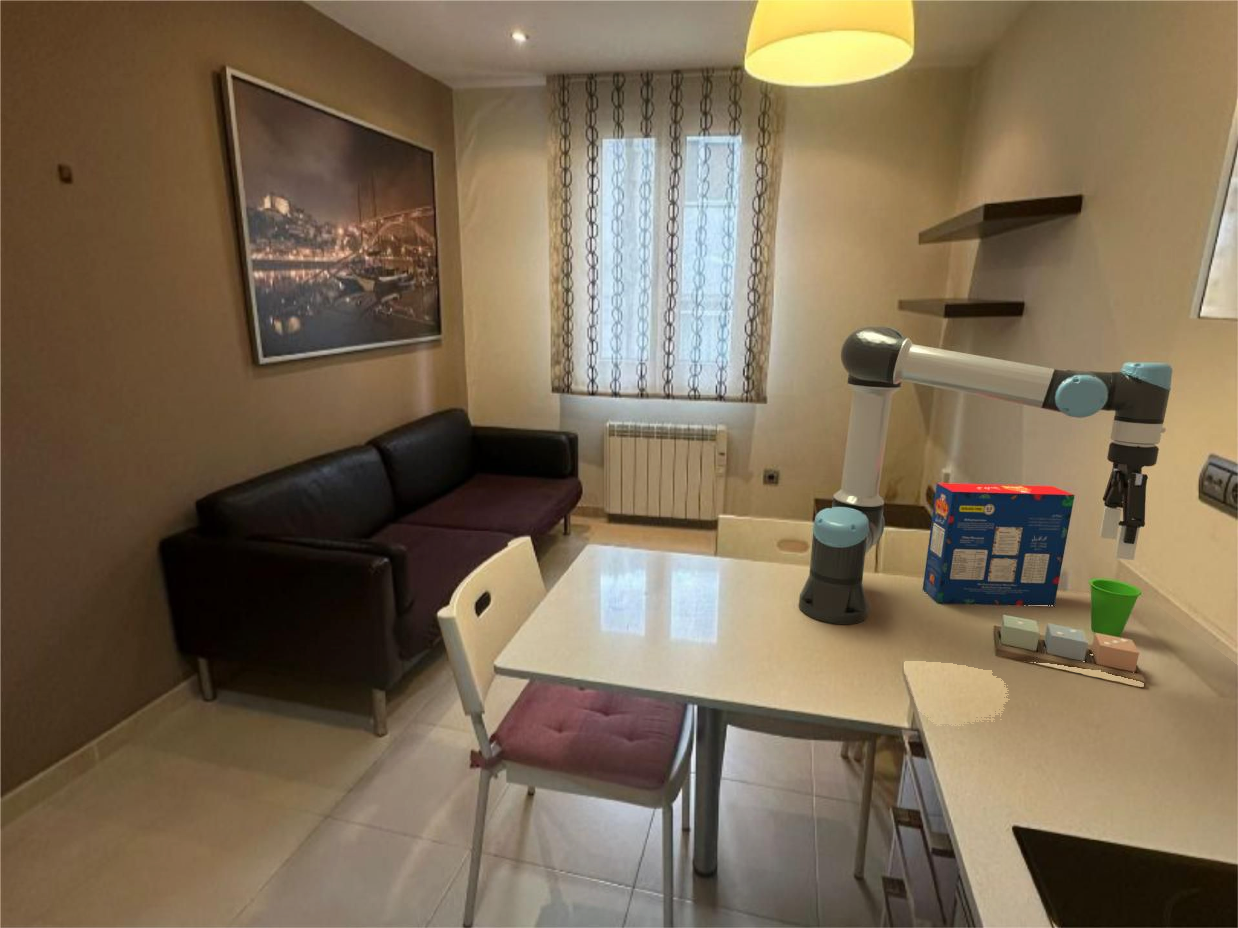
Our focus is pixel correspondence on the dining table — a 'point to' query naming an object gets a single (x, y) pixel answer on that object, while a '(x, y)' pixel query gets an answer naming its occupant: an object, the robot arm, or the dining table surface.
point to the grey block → (1065, 642)
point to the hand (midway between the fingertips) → (1115, 548)
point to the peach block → (1115, 652)
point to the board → (1056, 657)
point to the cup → (1111, 605)
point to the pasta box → (997, 544)
